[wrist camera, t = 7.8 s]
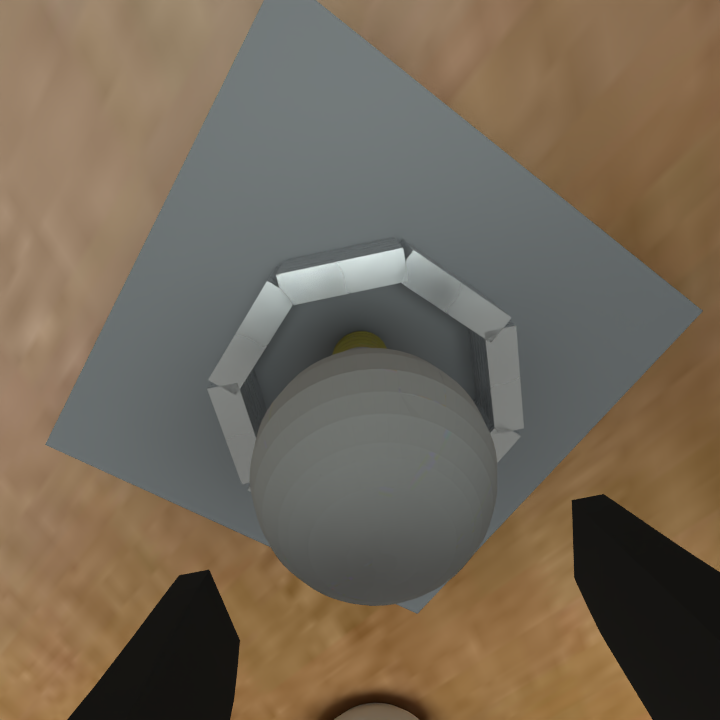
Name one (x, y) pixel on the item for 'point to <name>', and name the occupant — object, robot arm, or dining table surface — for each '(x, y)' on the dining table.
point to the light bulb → (373, 475)
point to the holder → (354, 278)
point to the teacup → (376, 713)
